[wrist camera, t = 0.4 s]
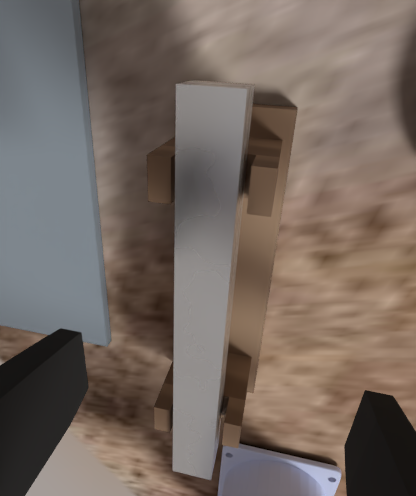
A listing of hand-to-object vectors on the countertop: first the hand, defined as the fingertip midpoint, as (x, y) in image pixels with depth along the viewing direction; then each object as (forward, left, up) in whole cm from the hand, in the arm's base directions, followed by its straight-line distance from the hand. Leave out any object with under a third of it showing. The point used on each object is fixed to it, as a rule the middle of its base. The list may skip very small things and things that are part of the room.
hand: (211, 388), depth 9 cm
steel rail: (-2, +1, -6) cm, 7 cm away
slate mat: (+1, +12, -10) cm, 16 cm away
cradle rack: (-2, +1, -10) cm, 11 cm away
